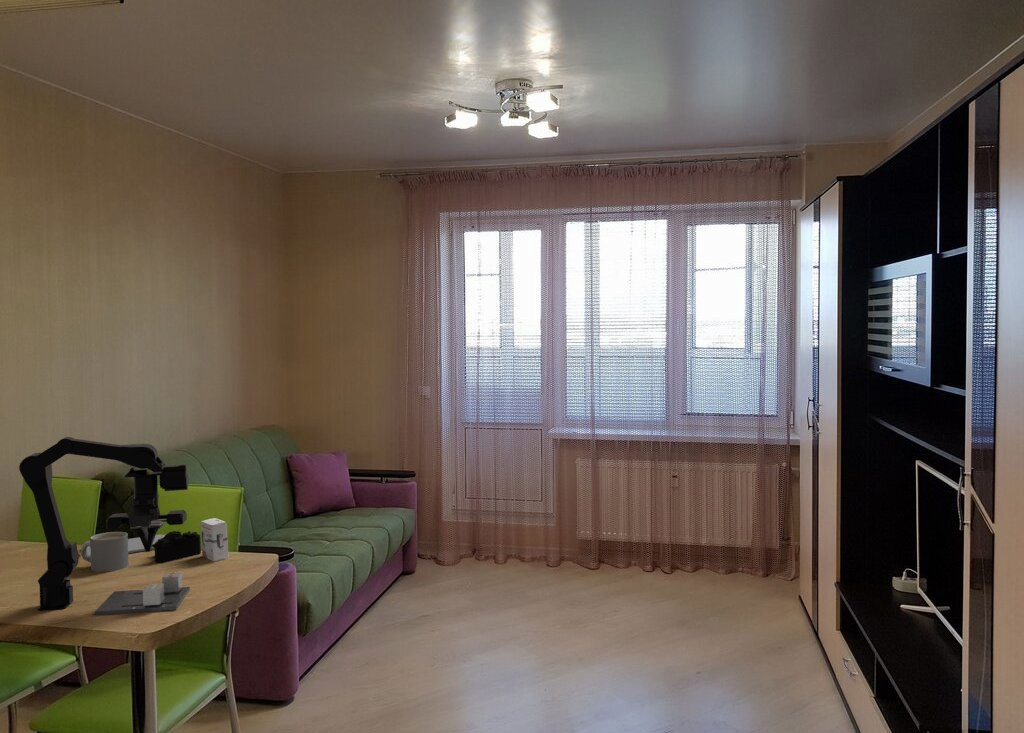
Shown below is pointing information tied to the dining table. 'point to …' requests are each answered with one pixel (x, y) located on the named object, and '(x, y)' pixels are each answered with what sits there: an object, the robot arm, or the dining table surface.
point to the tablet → (134, 545)
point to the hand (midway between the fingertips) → (148, 551)
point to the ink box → (214, 539)
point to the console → (139, 602)
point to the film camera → (177, 546)
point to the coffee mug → (107, 551)
